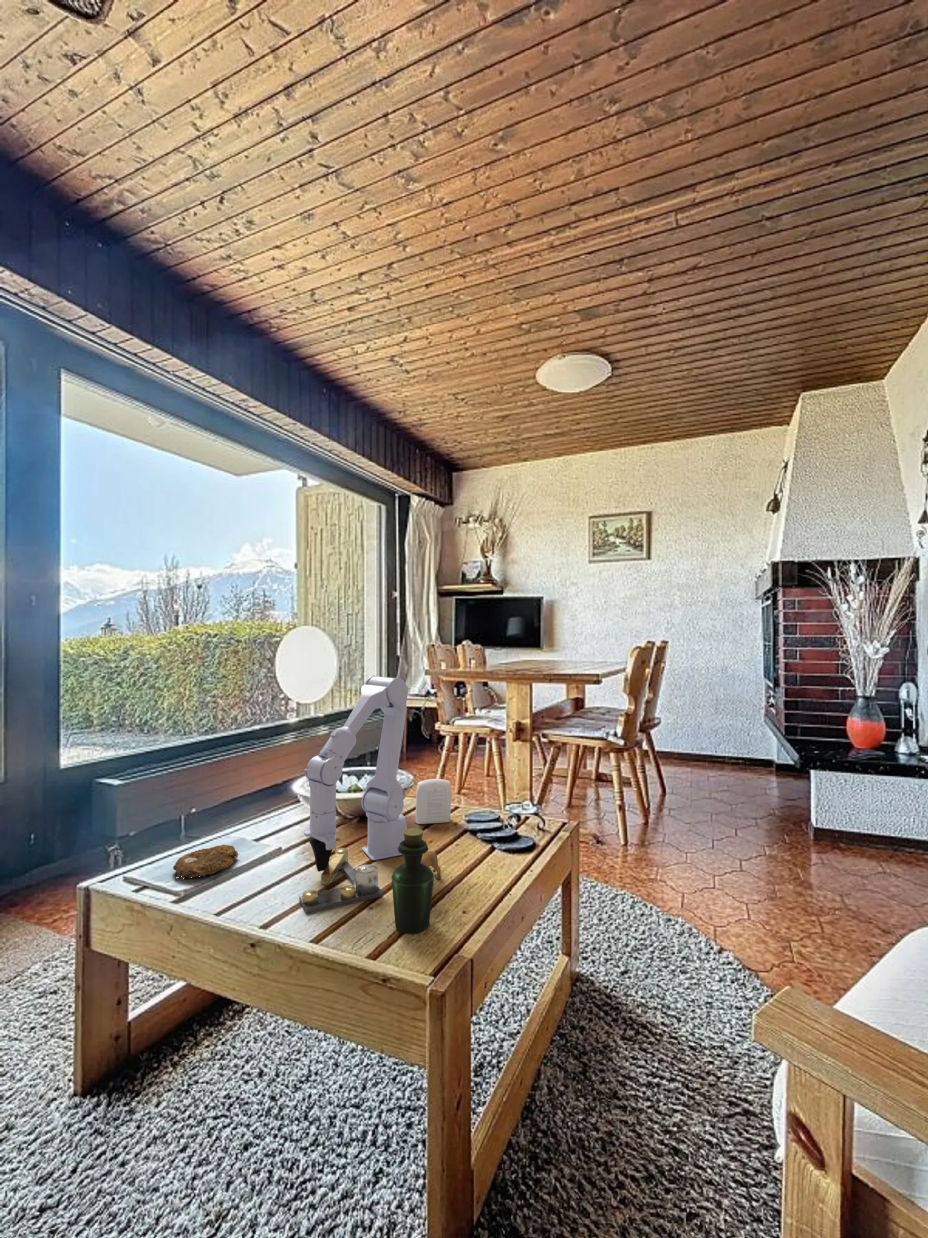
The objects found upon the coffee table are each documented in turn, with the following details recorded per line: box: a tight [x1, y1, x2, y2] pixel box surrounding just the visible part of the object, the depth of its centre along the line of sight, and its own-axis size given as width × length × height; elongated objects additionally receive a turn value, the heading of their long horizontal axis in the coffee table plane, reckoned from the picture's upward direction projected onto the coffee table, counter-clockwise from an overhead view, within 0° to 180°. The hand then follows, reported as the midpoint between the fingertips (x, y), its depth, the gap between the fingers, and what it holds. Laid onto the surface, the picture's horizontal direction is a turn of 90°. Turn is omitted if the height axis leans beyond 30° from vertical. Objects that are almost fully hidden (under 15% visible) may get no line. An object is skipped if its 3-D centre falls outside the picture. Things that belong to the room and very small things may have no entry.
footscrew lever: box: [320, 847, 349, 885], centre depth 132 cm, size 14×3×3 cm, turn 177°
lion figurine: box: [420, 850, 442, 880], centre depth 127 cm, size 15×5×9 cm, turn 164°
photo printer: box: [415, 778, 452, 825], centre depth 167 cm, size 10×4×12 cm, turn 104°
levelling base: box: [298, 861, 383, 915], centre depth 126 cm, size 16×18×6 cm
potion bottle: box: [391, 827, 435, 935], centre depth 111 cm, size 8×8×18 cm
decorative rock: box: [172, 844, 240, 879], centre depth 135 cm, size 11×4×15 cm
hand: (322, 870), depth 130 cm, fingers closed
